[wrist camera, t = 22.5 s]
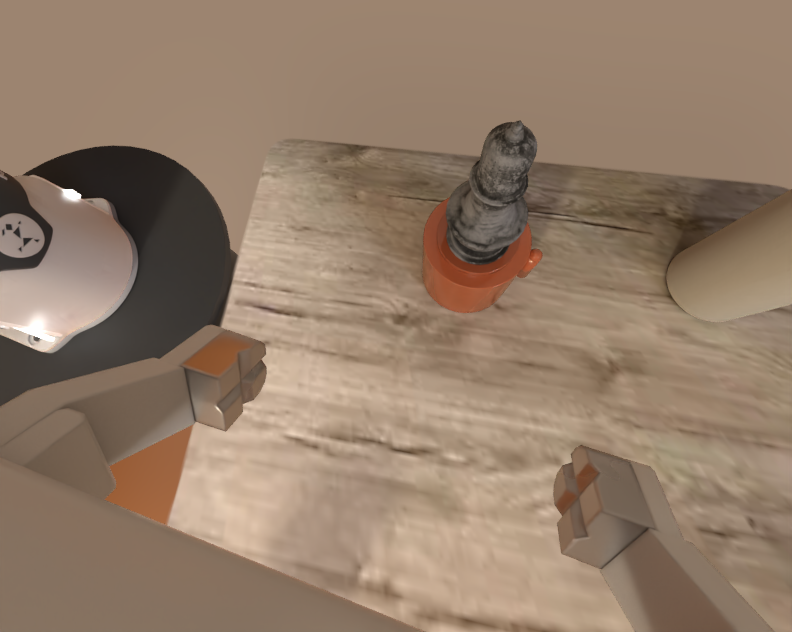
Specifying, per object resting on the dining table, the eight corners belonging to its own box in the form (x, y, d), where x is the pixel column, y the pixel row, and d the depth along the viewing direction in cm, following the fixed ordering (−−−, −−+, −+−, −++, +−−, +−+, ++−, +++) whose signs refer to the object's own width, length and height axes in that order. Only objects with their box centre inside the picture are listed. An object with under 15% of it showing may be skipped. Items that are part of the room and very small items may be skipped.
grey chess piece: (465, 281, 28) (500, 194, 16) (429, 222, 29) (437, 104, 18) (529, 247, 28) (607, 138, 16) (490, 191, 30) (537, 55, 18)
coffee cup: (416, 306, 36) (416, 278, 28) (428, 228, 38) (431, 181, 30) (518, 321, 35) (549, 296, 27) (525, 240, 37) (556, 194, 29)
